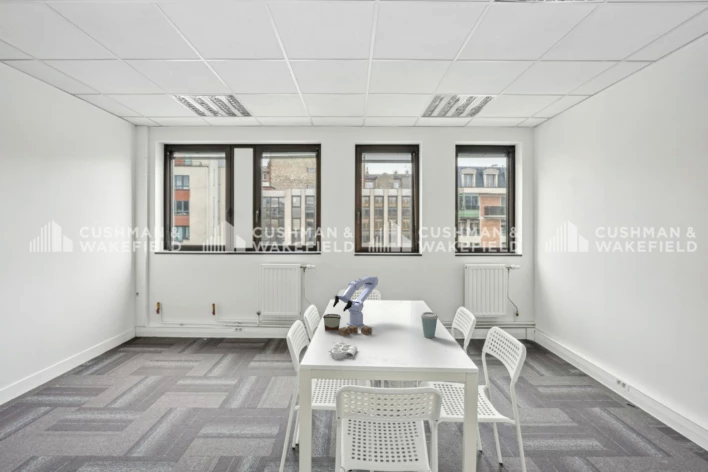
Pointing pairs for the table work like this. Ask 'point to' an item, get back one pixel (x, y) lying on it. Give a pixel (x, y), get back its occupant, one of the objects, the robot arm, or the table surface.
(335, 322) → the food container
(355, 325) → the robot arm
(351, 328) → the plain block
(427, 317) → the disposable coffee cup
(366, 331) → the block one
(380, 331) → the table surface
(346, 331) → the block two
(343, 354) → the grey egg carton
